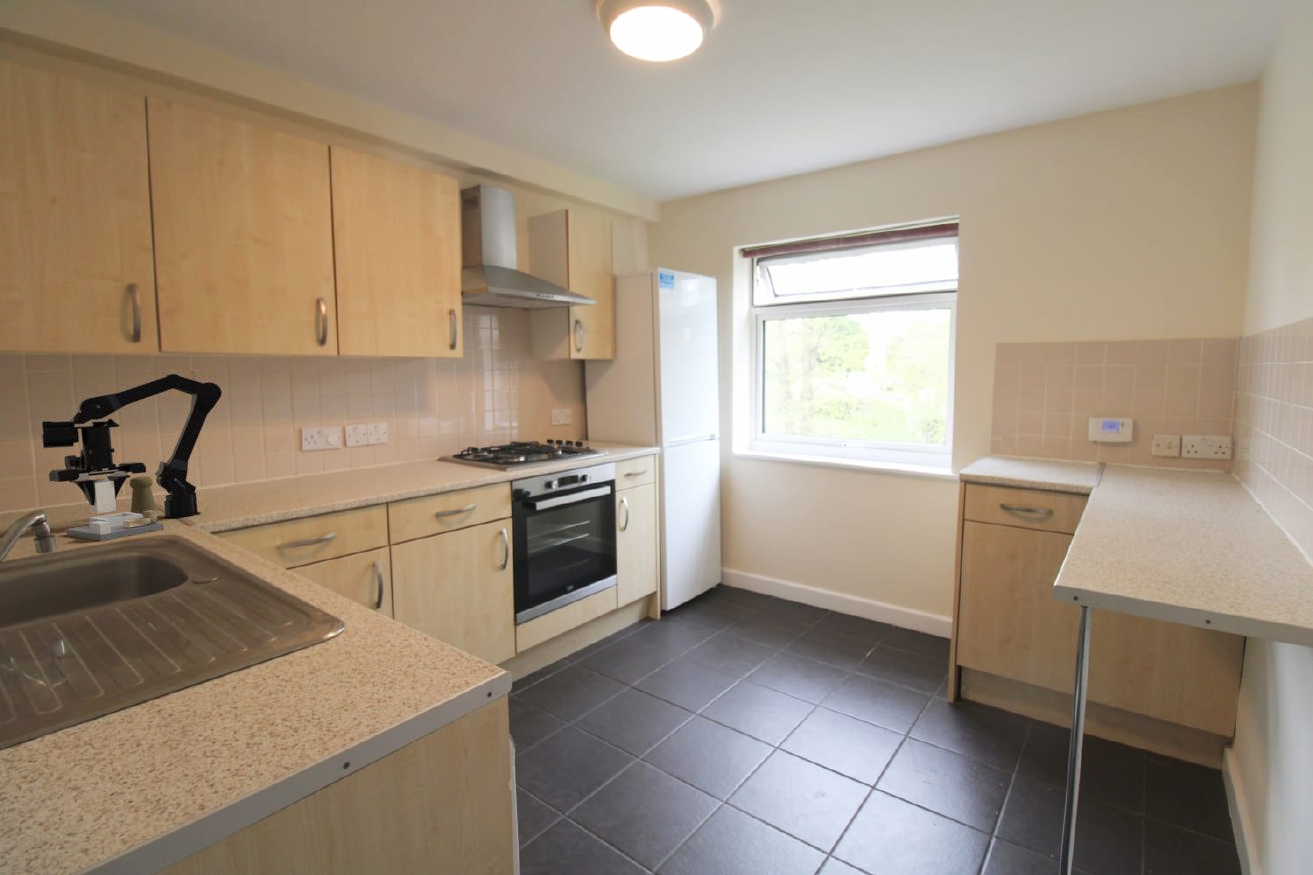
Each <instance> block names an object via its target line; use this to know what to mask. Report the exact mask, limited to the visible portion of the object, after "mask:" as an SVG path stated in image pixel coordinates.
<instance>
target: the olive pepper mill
mask: <svg viewBox="0 0 1313 875" xmlns="http://www.w3.org/2000/svg"><path fill="white" fill-rule="evenodd" d="M153 483H154V482H153V478H151V477H150V476H135V477H133V478H130V480H129V486H130V488H131V489H132V491H131V492H132V493H131V507H130V513H138V514H142V515H143V511H148V510H153V511H157V512H158V510H157V507H156V506H157V505H156V502H155V499H154V495H153V491H152V486H153Z"/></svg>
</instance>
